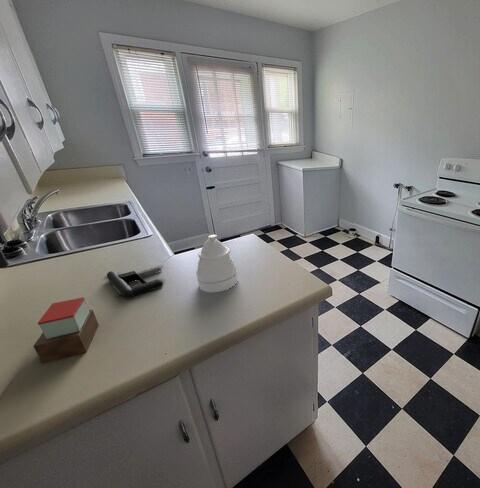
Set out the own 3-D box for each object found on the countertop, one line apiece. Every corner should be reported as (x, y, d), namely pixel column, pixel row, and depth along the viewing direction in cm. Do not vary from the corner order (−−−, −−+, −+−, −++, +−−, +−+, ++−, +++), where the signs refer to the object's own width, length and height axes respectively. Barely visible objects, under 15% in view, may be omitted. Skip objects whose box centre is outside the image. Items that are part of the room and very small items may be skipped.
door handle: (152, 259, 105) (101, 273, 93) (174, 276, 93) (119, 294, 81) (154, 267, 106) (103, 281, 94) (176, 285, 94) (121, 303, 83)
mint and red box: (45, 339, 61) (37, 323, 59) (59, 318, 68) (52, 303, 66) (80, 331, 64) (72, 315, 62) (90, 311, 70) (84, 297, 69)
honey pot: (244, 283, 93) (237, 235, 86) (205, 297, 86) (195, 245, 79) (230, 270, 103) (223, 225, 96) (194, 280, 95) (184, 233, 88)
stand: (42, 363, 61) (32, 346, 59) (61, 333, 70) (53, 317, 68) (86, 352, 64) (78, 335, 62) (98, 324, 74) (92, 309, 72)
